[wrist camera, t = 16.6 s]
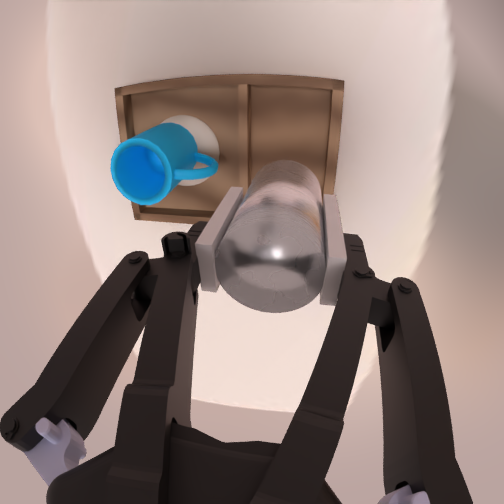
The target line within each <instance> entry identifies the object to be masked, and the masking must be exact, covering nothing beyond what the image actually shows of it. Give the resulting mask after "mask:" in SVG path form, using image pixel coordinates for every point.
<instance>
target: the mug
mask: <svg viewBox="0 0 504 504" xmlns="http://www.w3.org/2000/svg"><path fill="white" fill-rule="evenodd" d="M196 162H200V163H203V164H206V165H208V166H209V167H205V168H200V169H193V168H194V166H195V165H196ZM217 170H218V163H217V161H216V160H215V159H214V158H212V157H210V156H208V155H205V154H201V153H198V148H197V144H196V142H195V139H194V137H193V136H192V134H191V133H190V132H189V131H188V130H187V129H186V128H184V127H183V126H181V125H179V124H175V123H171V122H170V123H161V124H159V125H157V126H155V127H153V128H151V129H148V130H146V131H144V132H142V133H140V134H138V135H136V136H134V137H132V138H130V139H128V140H126V141H124V142H122V143H121V144H120V145H119V146H118V147H117V148H116V149H115V151H114V153H113V156H112V159H111V174H112V178H113V181H114V183H115V185H116V187H117V189H118V190H119V191H120V192H121V193H122V194H123V196H124V197H126V198H127V199H129V200H130V201H132V202H134V203H137V204H140V205H152V204H155V203H158V202H160V201H161V200H162V199H163V198H164V197H166V196H167V195H168V194H169V193H170V192H171V191H172V190H173V189H174V188H175V187H176V186H177V185H178V184H179V183H180V182H181V181H182V180H196V179H203V178H207V177H210V176H212V175H214V174H215V173H216V172H217Z"/></svg>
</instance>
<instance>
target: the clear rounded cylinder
mask: <svg viewBox="0 0 504 504" xmlns="http://www.w3.org/2000/svg"><path fill="white" fill-rule="evenodd" d="M215 268H216V276H217V278H218V280H219V282H220V284H221V286H222V287H223V289H224V290H225V291H226V292H227V293H228V294H229V295H230V296H231V297H232V298H233V299H235V300H236V301H238V302H239V303H241V304H243V305H245V306H247V307H249V308H252V309H255V310H258V311H263V312H270V313H281V312H288V311H293V310H296V309H299V308H301V307H303V306H305V305H307V304H308V303H310V302H311V301H312V300H313V299H315V297H316V296H317V295H318V294H319V293H320V291H321V290H322V288H323V283H324V278H325V273H326V258H325V239H324V223H323V210H322V197H321V188H320V184H319V182H318V179H317V178H316V176H315V175H314V173H313V172H312V171H311V170H310V169H309V168H307V167H306V166H304V165H303V164H300V163H298V162H295V161H291V160H278V161H274V162H271V163H269V164H267V165H265V166H264V167H262V168H261V169H260V170H259V171H258V172H257V174H256V175H255V177H254V179H253V180H252V182H251V184H250V186H249V188H248V190H247V192H246V194H245V196H244V198H243V200H242V202H241V203H240V205H239V207H238V209H237V211H236V213H235V215H234V217H233V219H232V221H231V223H230V225H229V227H228V229H227V231H226V233H225V235H224V237H223V239H222V241H221V243H220V245H219V247H218V249H217V251H216V254H215Z"/></svg>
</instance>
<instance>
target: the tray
mask: <svg viewBox="0 0 504 504" xmlns="http://www.w3.org/2000/svg"><path fill="white" fill-rule="evenodd" d="M343 93H344V81H343V80H336V79H327V78H318V77H307V76H293V75H271V74H232V75H210V76H196V77H185V78H176V79H167V80H160V81H153V82H146V83H140V84H134V85H129V86H124V87H119V88H115V99H116V109H117V118H118V126H119V134H120V141H121V143H122V142H124V141H126V140H128V139H130V138H132V137H134V136H136V135H138V134H140V133H142V132H144V131H146V130H148V129H151V128H153V127H155V126H157V125H159V124H161V123H170V122H171V123H175V124H179V125H181V126H183V127H184V128H186V129H187V130H188V131H189V132H190V133H191V134H192V136H193V137H194V139H195V142H196V144H197V148H198V153H201V154H205V155H208V156H210V157H212V158H214V159H215V160H216V161H217V163H218V170H217V172H216V173H215V174H214V175H212V176H210V177H207V178H203V179H196V180H182V181H181V182H180V183H179V184H178V185H177V186H176V187H175V188H174V189H173V190H172V191H171V192H170V193H169V194H168V195H167V196H166V197H164V198H163V199H162V200H161V201H160V202H158V203H155V204H152V205H140V204H137V203H134V202H132V201H131V204H132V208H133V213H134V218H135V220H145V221H159V222H172V223H185V224H195V223H197V222H198V221H207V222H209V220H210V219H211V217H212V215H213V214H214V212H215V211H216V209H217V208H218V206H219V205H220V203H221V201H222V200H223V198H224V197H225V195H226V194H227V192H228V191H229V189H230V188H231V187H243V198H244V196H245V194H246V192H247V190H248V188H249V186H250V184H251V182H252V180H253V179H254V177H255V175H256V174H257V172H258V171H259V170H260V169H261V168H262V167H264V166H265V165H267V164H269V163H271V162H274V161H278V160H291V161H295V162H298V163H300V164H303V165H304V166H306V167H307V168H309V169H310V170H311V171H312V172H313V173H314V175H315V176H316V178H317V179H318V182H319V184H320V188H321V197H322V206H323V197H324V194H330V195H333V192H334V184H335V176H336V168H337V160H338V150H339V141H340V130H341V119H342V107H343ZM205 167H209V166H208V165H206V164H203V163H200V162H196V165H195V166H194V168H193V169H200V168H205Z"/></svg>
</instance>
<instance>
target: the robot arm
mask: <svg viewBox="0 0 504 504" xmlns="http://www.w3.org/2000/svg"><path fill="white" fill-rule="evenodd" d="M242 200H243V187H231V188H230V189H229V191H228V192H227V194H226V195H225V197H224V198H223V200H222V201H221V203H220V205H219V206H218V208H217V209H216V211H215V212H214V214H213V215H212V217H211V219H210V220H209V222H207V221H198V222H197V223H195V224H194V225H192V227H191V228H190V230H189V231H188V233H185V232H172V233H169V234H167V235H165V236H164V237H163V238H162V239H161V242H162V247H163V251H164V257H163V258H155V259H149V257H148V254H147V253H146V252H143V251H135V252H131V253H129V254H127V255H126V256H125V257H124V258H123V259H122V261H121V262H120V263H119V264H118V265H117V267H116V268H115V269H114V270H113V272H112V273H111V274H110V276H109V277H108V278H107V279H106V281H105V282H104V283H103V285H102V286H101V287H100V289H99V290H98V291H97V292H96V294H95V295H94V297H93V298H92V299H91V301H90V302H89V303H88V305H87V306H86V307H85V309H84V310H83V312H82V313H81V314H80V316H79V317H78V319H77V320H76V321H75V323H74V324H73V326H72V327H71V329H70V330H69V331H68V333H67V335H66V336H65V338H64V339H63V341H62V342H61V344H60V345H59V346H58V348H57V349H56V351H55V353H54V354H53V356H52V357H51V359H50V360H49V362H48V364H47V365H46V367H45V368H44V370H43V372H42V373H41V375H40V377H39V378H38V380H37V382H36V383H35V385H34V386H33V387H32V388H31V389H29V390H28V391H27V392H26V394H25V395H23V396H22V397H21V398H20V399H19V400H18V401H17V402H16V403H15V404H14V405H13V406H12V407H11V408H10V409H9V410H8V411H7V412H6V413H5V414H4V415H3V417H2V418H1V422H0V432H1V435H2V437H3V438H4V439H5V441H7V442H8V443H10V444H11V445H13V446H14V447H16V448H17V449H19V450H21V451H22V452H24V453H25V455H26V456H27V458H28V459H29V460H30V462H31V463H32V465H33V466H34V467H35V469H36V470H37V472H38V473H39V474H40V476H41V477H42V478H43V480H44V481H45V482H46V483H47V485H48V486H49V488H48V491H47V496H46V502H47V504H342V503H341V502H340V500H339V499H338V498H337V496H336V495H335V493H334V492H333V491H332V490H331V488H330V486H329V485H328V484H327V482H326V481H325V477H326V474H327V472H328V469H329V467H330V464H331V461H332V458H333V456H334V453H335V450H336V448H337V445H338V441H339V439H340V436H341V433H342V429H343V425H344V421H343V418H344V414H345V411H346V408H347V404H348V401H349V398H350V394H351V390H352V387H353V383H354V379H355V376H356V372H357V368H358V364H359V359H360V355H361V351H362V346H363V342H364V337H365V332H366V327H367V323H370V324H373V325H375V330H376V338H377V346H378V355H379V365H380V374H381V375H380V376H381V389H382V404H383V405H382V406H383V436H384V459H383V461H384V462H383V476H384V487H385V494H386V495H385V496H384V497H383V498H382V499H381V500H380V501H379V502H378V504H473V502H472V499H471V496H470V494H469V491H468V488H467V485H466V483H465V480H464V478H463V475H462V473H461V470H460V468H459V465H458V463H457V461H456V458H455V450H454V440H453V432H452V424H451V417H450V410H449V404H448V399H447V393H446V388H445V383H444V378H443V373H442V369H441V364H440V360H439V356H438V352H437V348H436V344H435V341H434V337H433V333H432V330H431V327H430V323H429V320H428V317H427V313H426V310H425V307H424V304H423V301H422V298H421V295H420V292H419V289H418V287H417V285H416V284H415V283H414V282H413V281H411V280H409V279H407V278H403V277H397V278H395V279H393V281H392V283H388V282H385V281H382V280H379V279H378V278H376V277H375V273H374V271H373V270H372V269H371V268H369V266H368V262H367V258H366V253H365V249H364V245H363V241H362V240H361V238H360V237H359V236H358V235H355V234H346V233H343V230H342V224H341V219H340V213H339V208H338V202H337V197H336V195H330V194H324V197H323V206H322V210H323V223H324V239H325V258H326V273H325V278H324V283H323V288H322V290H321V291H320V304H322V305H333V306H336V307H335V310H334V313H333V316H332V319H331V322H330V325H329V328H328V331H327V334H326V337H325V339H324V342H323V345H322V348H321V351H320V353H319V356H318V359H317V362H316V364H315V367H314V370H313V372H312V375H311V377H310V380H309V382H308V385H307V387H306V390H305V392H304V395H303V397H302V400H301V402H300V404H299V407H298V408H297V410H296V412H295V414H294V417H293V419H292V421H291V423H290V425H289V428H288V430H287V433H286V434H285V436H284V439H283V441H282V443H281V444H277V443H269V442H262V441H249V442H230V443H225V442H221V441H219V440H217V439H215V438H213V437H211V436H208V435H207V434H205V433H203V432H201V431H199V430H197V429H194V428H192V427H191V421H190V405H191V387H192V370H193V355H194V341H195V329H196V317H197V306H198V290H197V288H198V286H199V284H200V283H201V289H202V290H203V291H210V292H217V290H218V287H219V285H220V282H219V280H218V278H217V276H216V268H215V254H216V251H217V249H218V247H219V245H220V243H221V241H222V239H223V237H224V235H225V233H226V231H227V229H228V227H229V225H230V223H231V221H232V219H233V217H234V215H235V213H236V211H237V209H238V207H239V205H240V203H241V202H242ZM337 298H338V300H337ZM336 302H337V303H336ZM144 327H145V329H144V334H143V338H142V342H141V347H140V352H139V356H138V361H137V367H136V371H135V377H134V380H133V383H132V384H128V385H127V386H126V387H125V390H124V393H123V398H122V403H121V409H120V415H119V421H118V428H117V433H116V440H115V446H114V447H112V448H110V449H109V450H107V451H105V452H103V453H101V454H100V455H98V456H96V457H94V458H92V459H90V460H88V461H86V462H85V463H83V464H81V465H78V464H79V459H83V458H84V457H85V456H86V449H85V447H84V440H85V439H86V438H87V436H88V435H89V433H90V432H91V430H92V429H93V427H94V425H95V423H96V422H97V420H98V418H99V415H100V414H101V411H102V409H103V407H104V405H105V403H106V401H107V399H108V397H109V395H110V393H111V391H112V389H113V387H114V384H115V382H116V380H117V378H118V376H119V374H120V372H121V370H122V368H123V366H124V365H125V363H126V361H127V359H128V357H129V355H130V353H131V351H132V349H133V347H134V345H135V343H136V342H137V340H138V338H139V336H140V334H141V332H142V330H143V328H144Z"/></svg>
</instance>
